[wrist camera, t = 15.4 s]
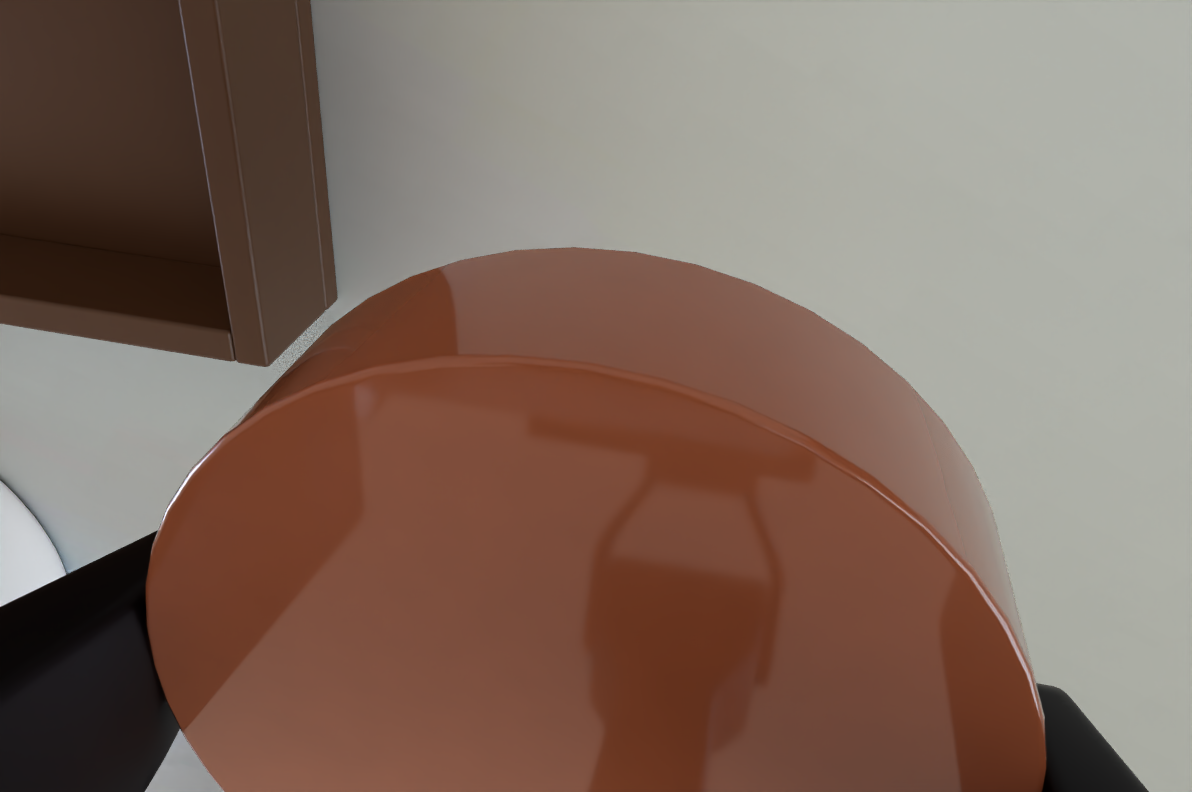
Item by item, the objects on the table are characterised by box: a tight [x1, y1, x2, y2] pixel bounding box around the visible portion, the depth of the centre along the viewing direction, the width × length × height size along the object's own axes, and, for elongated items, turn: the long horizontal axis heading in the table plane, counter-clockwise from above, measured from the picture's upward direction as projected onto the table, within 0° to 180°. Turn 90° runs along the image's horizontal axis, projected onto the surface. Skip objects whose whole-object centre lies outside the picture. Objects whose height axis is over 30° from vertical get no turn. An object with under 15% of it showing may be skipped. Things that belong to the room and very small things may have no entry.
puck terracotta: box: [145, 247, 1047, 792], centre depth 8 cm, size 7×7×2 cm
